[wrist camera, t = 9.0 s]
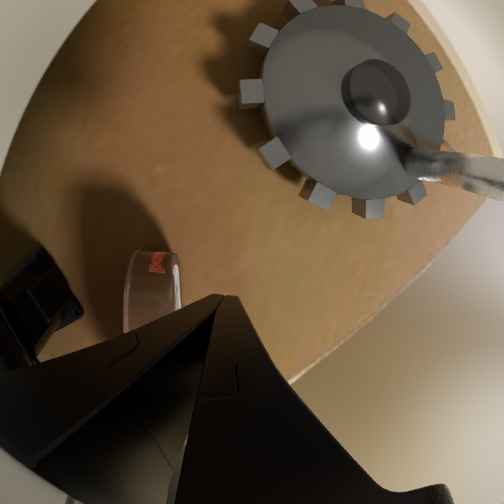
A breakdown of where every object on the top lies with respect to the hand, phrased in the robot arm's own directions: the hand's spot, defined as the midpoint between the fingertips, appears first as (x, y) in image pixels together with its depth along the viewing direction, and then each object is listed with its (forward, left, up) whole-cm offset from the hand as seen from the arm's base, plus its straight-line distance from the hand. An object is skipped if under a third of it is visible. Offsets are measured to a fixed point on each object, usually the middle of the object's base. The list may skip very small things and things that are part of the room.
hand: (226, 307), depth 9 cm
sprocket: (+12, +4, -9) cm, 16 cm away
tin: (-7, -5, -11) cm, 14 cm away
